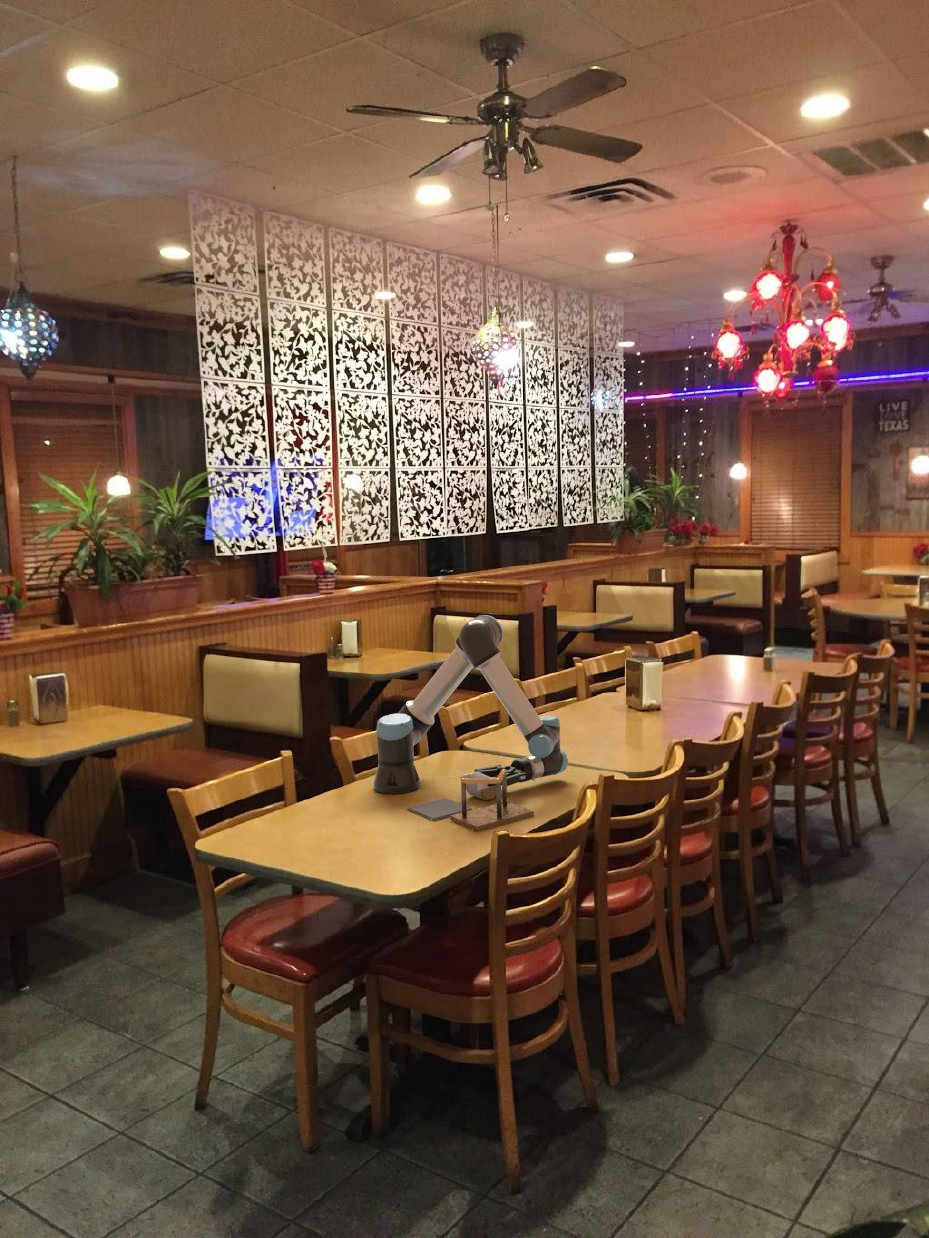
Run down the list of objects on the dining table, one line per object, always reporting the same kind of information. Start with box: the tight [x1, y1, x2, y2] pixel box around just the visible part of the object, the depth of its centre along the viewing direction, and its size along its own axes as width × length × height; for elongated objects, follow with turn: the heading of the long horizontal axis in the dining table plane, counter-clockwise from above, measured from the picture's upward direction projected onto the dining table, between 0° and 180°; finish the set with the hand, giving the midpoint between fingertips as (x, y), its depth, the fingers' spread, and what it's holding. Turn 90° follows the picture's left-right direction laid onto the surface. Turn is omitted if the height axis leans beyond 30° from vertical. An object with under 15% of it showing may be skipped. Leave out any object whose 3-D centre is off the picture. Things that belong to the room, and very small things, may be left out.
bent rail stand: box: [449, 769, 535, 832], centre depth 291 cm, size 13×21×13 cm, turn 126°
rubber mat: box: [407, 797, 473, 821], centre depth 301 cm, size 14×14×1 cm
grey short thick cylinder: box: [466, 771, 502, 801], centre depth 312 cm, size 11×8×8 cm
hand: (469, 782), depth 308 cm, fingers closed on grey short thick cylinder, 8 cm apart
